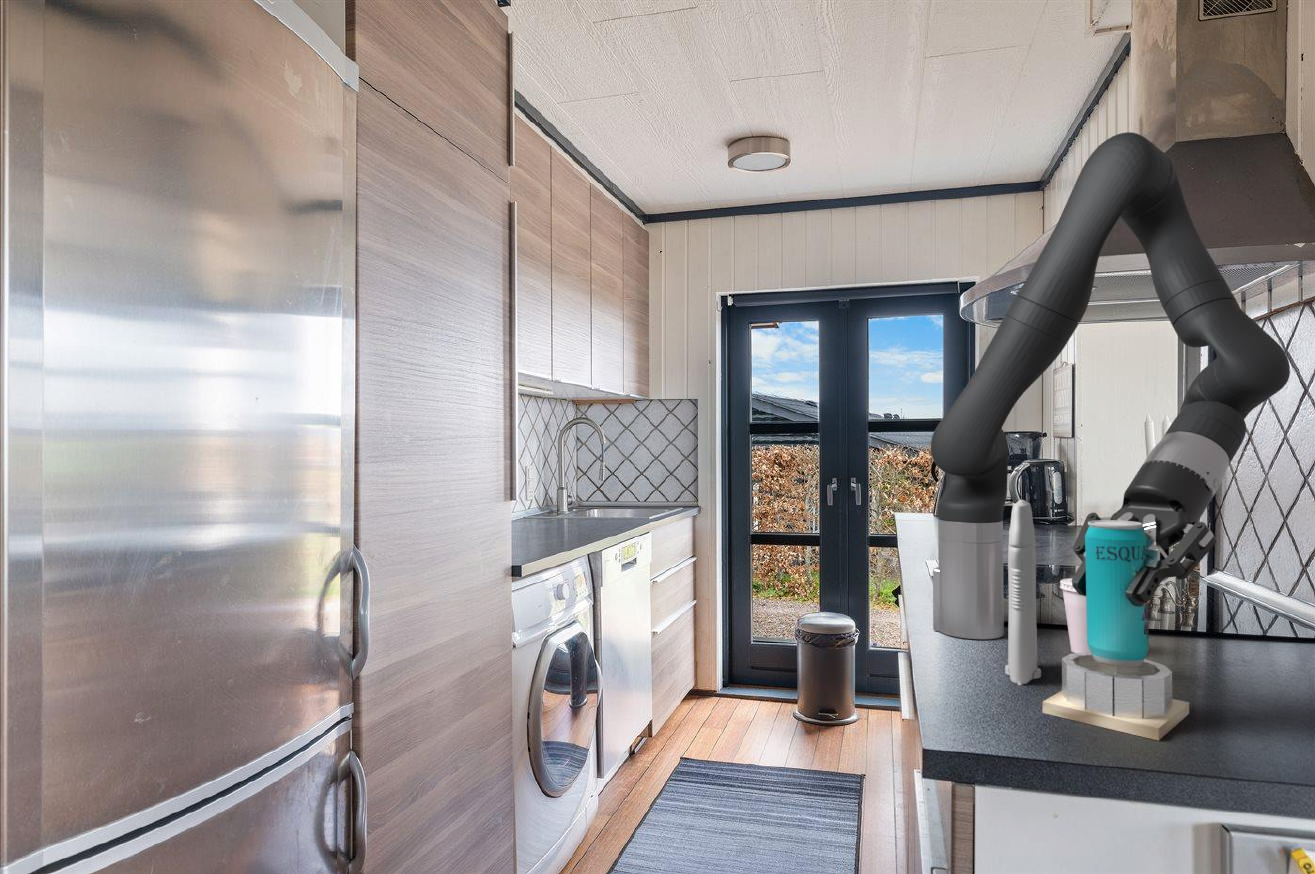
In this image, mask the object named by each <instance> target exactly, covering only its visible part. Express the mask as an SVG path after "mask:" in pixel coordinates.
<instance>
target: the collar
mask: <svg viewBox="0 0 1315 874" xmlns="http://www.w3.org/2000/svg"><path fill="white" fill-rule="evenodd" d="M1061 691H1062V695H1063V697H1064V698H1065V700H1066V701H1067V702H1068V703H1071V704H1073V705H1075V706H1077V707H1080V708H1082V709H1084V710H1087V711H1092V712H1096V713H1101V714H1105V715H1109V716H1115V717H1125V718H1137V719H1142V718H1143V719H1148V718H1158V717H1164V716H1167V715H1168V714H1169V713H1170V712H1171V711H1172V699H1173V671H1172V670H1171V669H1169V668H1168V667H1167V666H1166V665H1165V664H1162V663H1159V662H1156V661H1152V660H1149V659H1146V658H1145V659H1144V661H1143V663H1142V664H1141V665H1140V666H1137V667H1117V666H1110V665H1106V664H1102V663H1099V662H1097V661H1096V660H1095V659H1094V658H1093V656H1092V654H1091V652H1086V653H1074V652H1073V653H1069V654H1067V655H1066V656H1064V657H1062V658H1061Z"/></svg>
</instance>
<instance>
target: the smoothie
mask: <svg viewBox="0 0 1315 874" xmlns="http://www.w3.org/2000/svg"><path fill="white" fill-rule="evenodd" d="M1059 584H1060V585H1059V588H1060V589H1061V590H1062V594H1063V601H1064V608H1065V616H1066V623H1067V629H1068V630H1067V631H1068V637H1069V644H1070V645H1069V646H1070V651H1071V652H1072V653H1073V654H1074V653H1086V652H1091V651H1090V649H1089V646H1088V644H1087V605H1086V596H1083V595H1079V594H1078V592H1077V591H1076V590H1075V589H1074V587H1073V586H1072V577H1071V578H1063V579H1061V580H1060V583H1059Z"/></svg>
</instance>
